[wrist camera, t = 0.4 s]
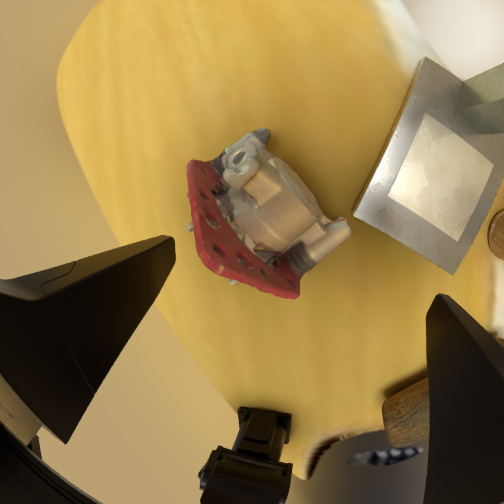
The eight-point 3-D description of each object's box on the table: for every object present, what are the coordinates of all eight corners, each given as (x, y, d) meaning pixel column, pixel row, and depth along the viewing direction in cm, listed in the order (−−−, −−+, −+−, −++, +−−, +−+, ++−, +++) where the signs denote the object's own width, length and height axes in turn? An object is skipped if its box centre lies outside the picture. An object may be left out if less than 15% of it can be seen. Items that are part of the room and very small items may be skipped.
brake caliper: (150, 215, 23) (128, 162, 11) (248, 144, 25) (299, 65, 14) (236, 320, 24) (290, 359, 12) (324, 239, 27) (416, 218, 15)
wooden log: (396, 419, 27) (400, 463, 21) (374, 389, 26) (377, 438, 20) (503, 357, 21) (524, 395, 15) (494, 317, 20) (522, 356, 14)
